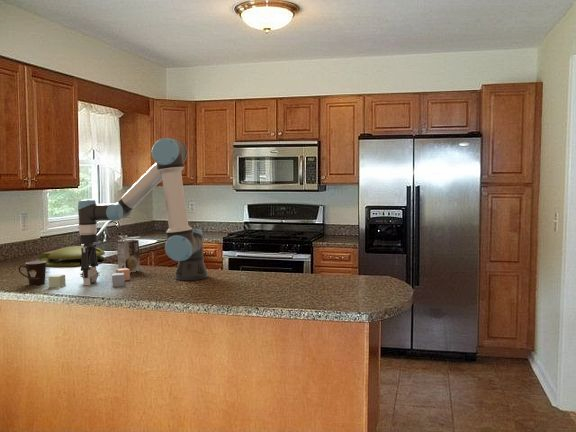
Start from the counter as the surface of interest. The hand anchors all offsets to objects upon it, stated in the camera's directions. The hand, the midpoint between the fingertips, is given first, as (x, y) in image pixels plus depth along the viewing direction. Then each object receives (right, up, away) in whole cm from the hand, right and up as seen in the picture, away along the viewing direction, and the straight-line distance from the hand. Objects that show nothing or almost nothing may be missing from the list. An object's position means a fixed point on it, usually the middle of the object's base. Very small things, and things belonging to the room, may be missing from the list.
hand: (90, 282), depth 245 cm
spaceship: (-33, +3, +64) cm, 73 cm away
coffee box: (+9, +2, +29) cm, 30 cm away
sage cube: (-13, -1, -6) cm, 14 cm away
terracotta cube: (+13, 0, +8) cm, 15 cm away
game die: (0, 0, 0) cm, 0 cm away
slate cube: (+14, 0, -5) cm, 15 cm away
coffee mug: (-26, -1, +1) cm, 26 cm away
